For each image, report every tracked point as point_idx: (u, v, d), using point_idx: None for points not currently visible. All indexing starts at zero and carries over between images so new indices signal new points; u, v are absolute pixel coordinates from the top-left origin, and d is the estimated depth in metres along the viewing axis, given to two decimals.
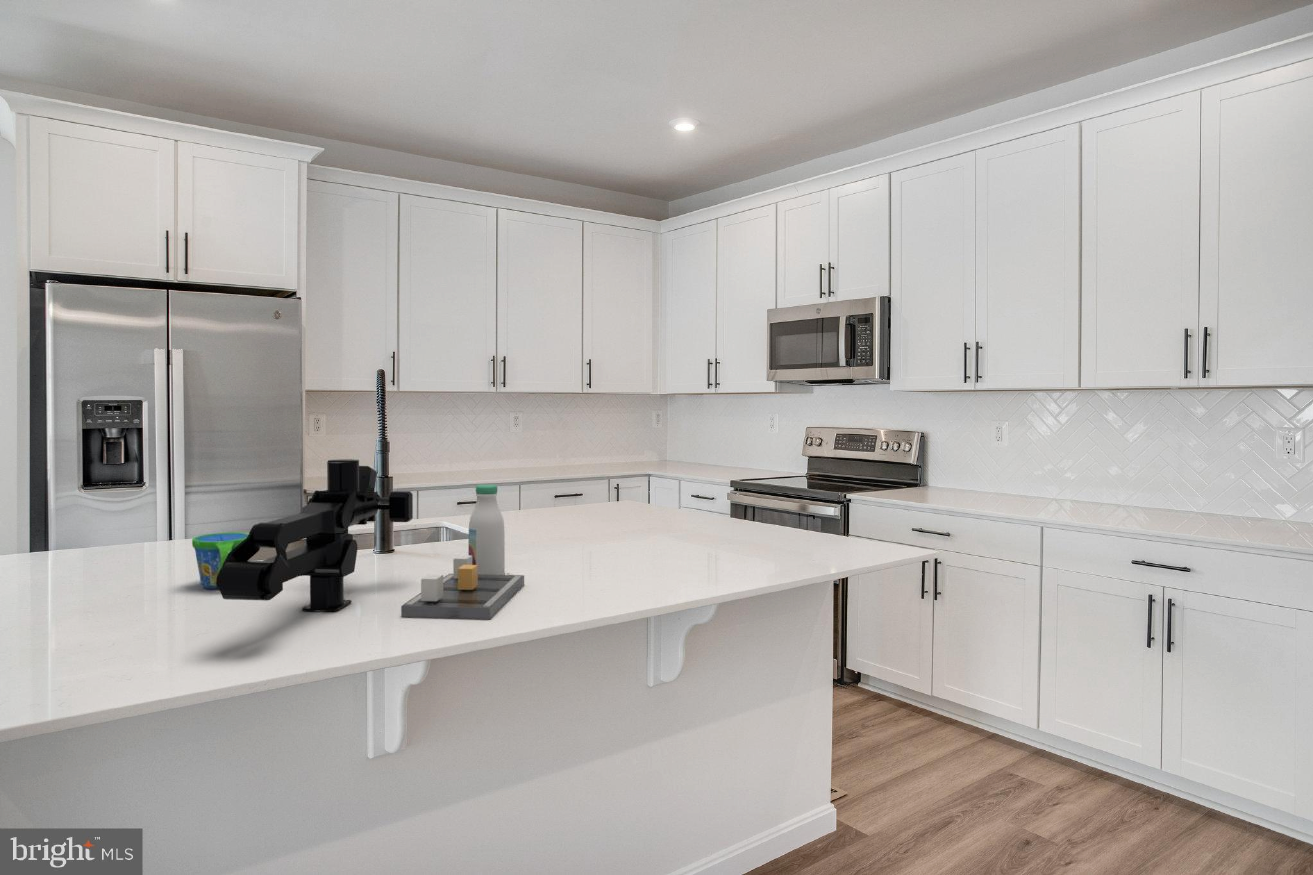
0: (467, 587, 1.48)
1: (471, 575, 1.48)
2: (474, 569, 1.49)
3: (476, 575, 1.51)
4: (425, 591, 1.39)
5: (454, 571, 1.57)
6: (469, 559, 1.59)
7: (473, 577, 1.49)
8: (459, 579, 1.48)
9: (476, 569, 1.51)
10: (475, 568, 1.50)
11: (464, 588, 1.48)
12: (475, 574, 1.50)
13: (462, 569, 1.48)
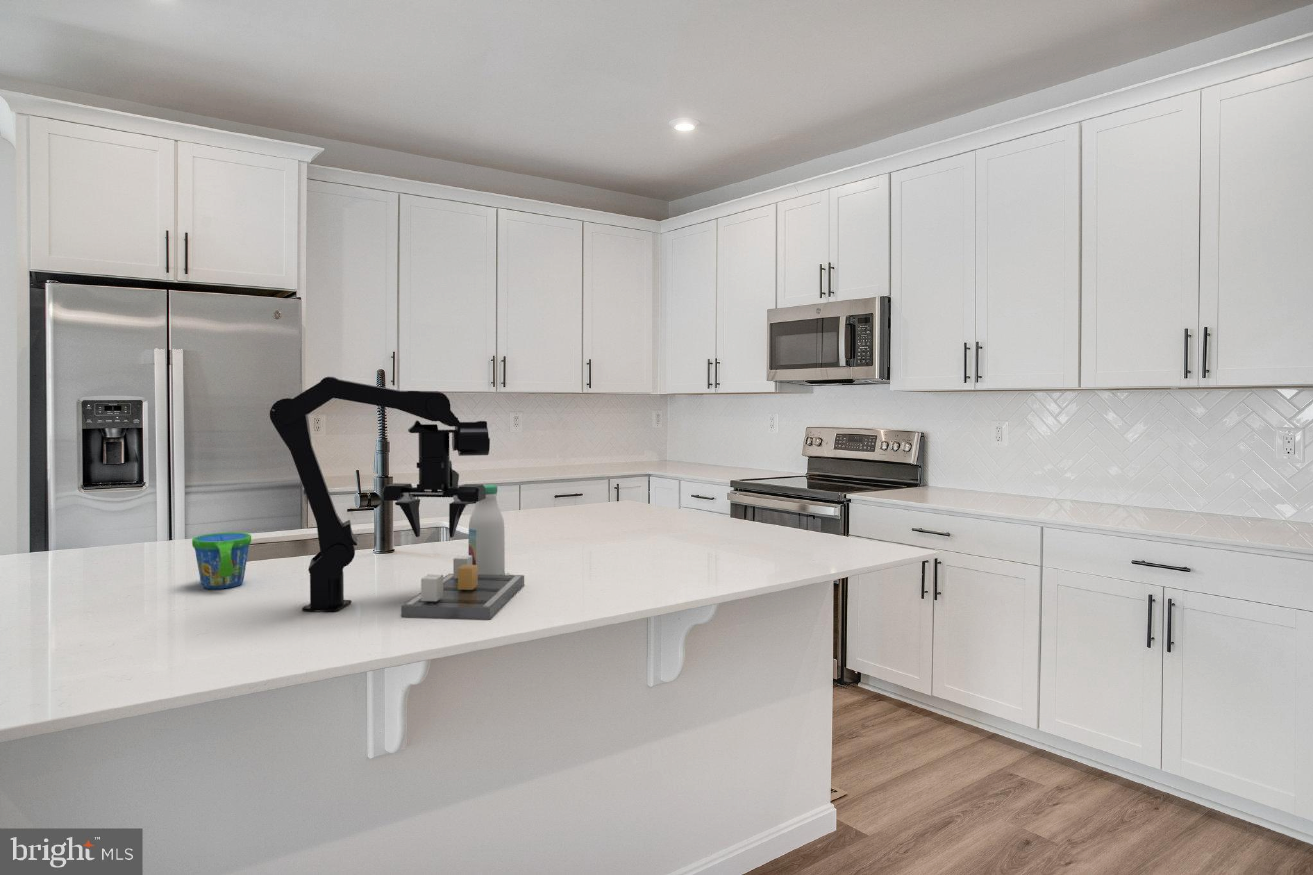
0: (467, 587, 1.48)
1: (471, 575, 1.48)
2: (474, 569, 1.49)
3: (476, 575, 1.51)
4: (425, 591, 1.39)
5: (454, 571, 1.57)
6: (469, 559, 1.59)
7: (473, 577, 1.49)
8: (459, 579, 1.48)
9: (476, 569, 1.51)
10: (475, 568, 1.50)
11: (464, 588, 1.48)
12: (475, 574, 1.50)
13: (462, 569, 1.48)
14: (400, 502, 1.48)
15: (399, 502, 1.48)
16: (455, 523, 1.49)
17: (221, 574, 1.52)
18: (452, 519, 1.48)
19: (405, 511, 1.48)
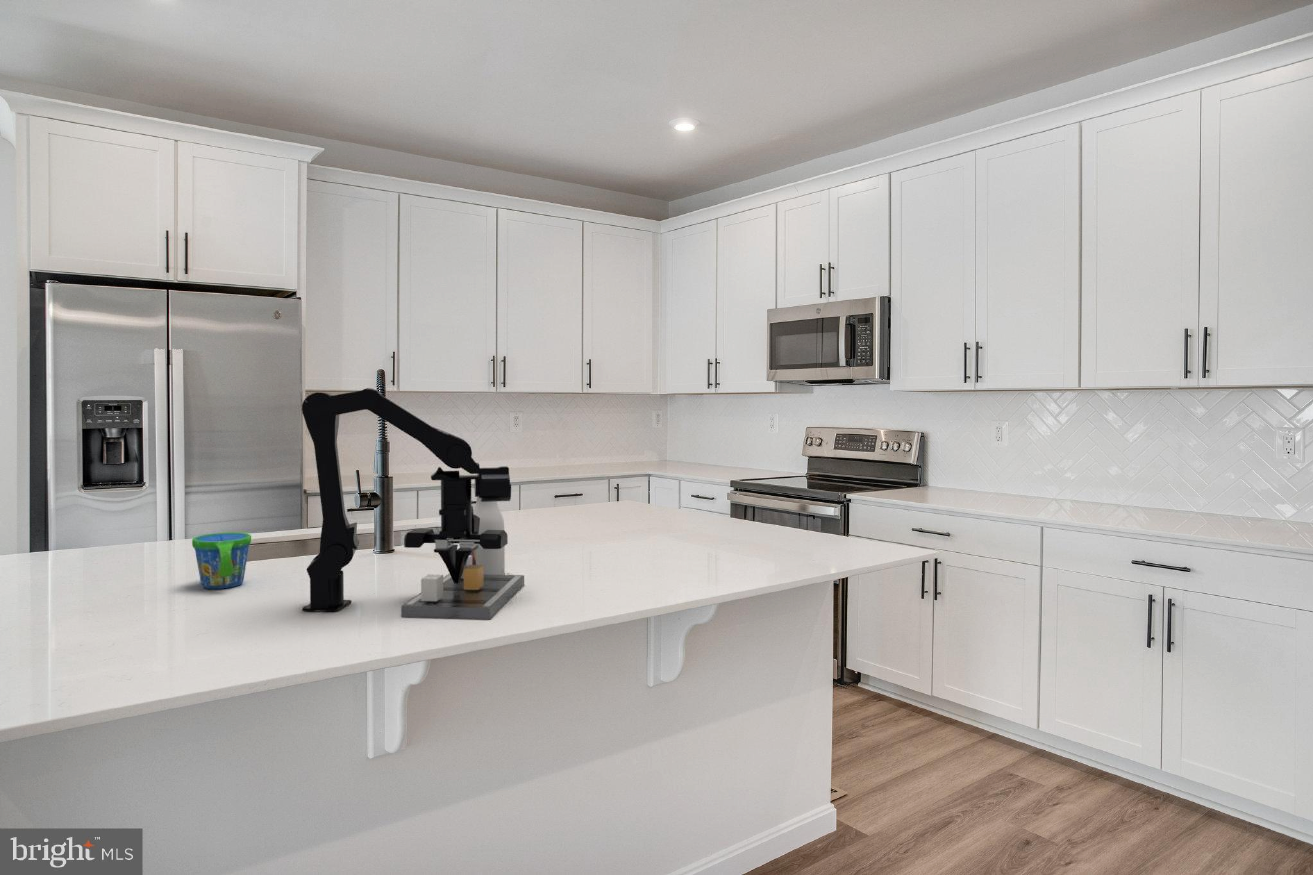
0: (473, 587, 1.48)
1: (477, 575, 1.48)
2: (480, 569, 1.49)
3: (482, 575, 1.51)
4: (425, 591, 1.39)
5: None
6: (469, 559, 1.59)
7: (479, 577, 1.49)
8: (465, 579, 1.48)
9: (482, 569, 1.51)
10: (481, 568, 1.50)
11: (470, 588, 1.48)
12: (481, 574, 1.50)
13: (468, 569, 1.48)
14: (439, 549, 1.47)
15: (438, 549, 1.48)
16: (461, 569, 1.49)
17: (221, 574, 1.52)
18: (458, 565, 1.48)
19: (444, 558, 1.48)
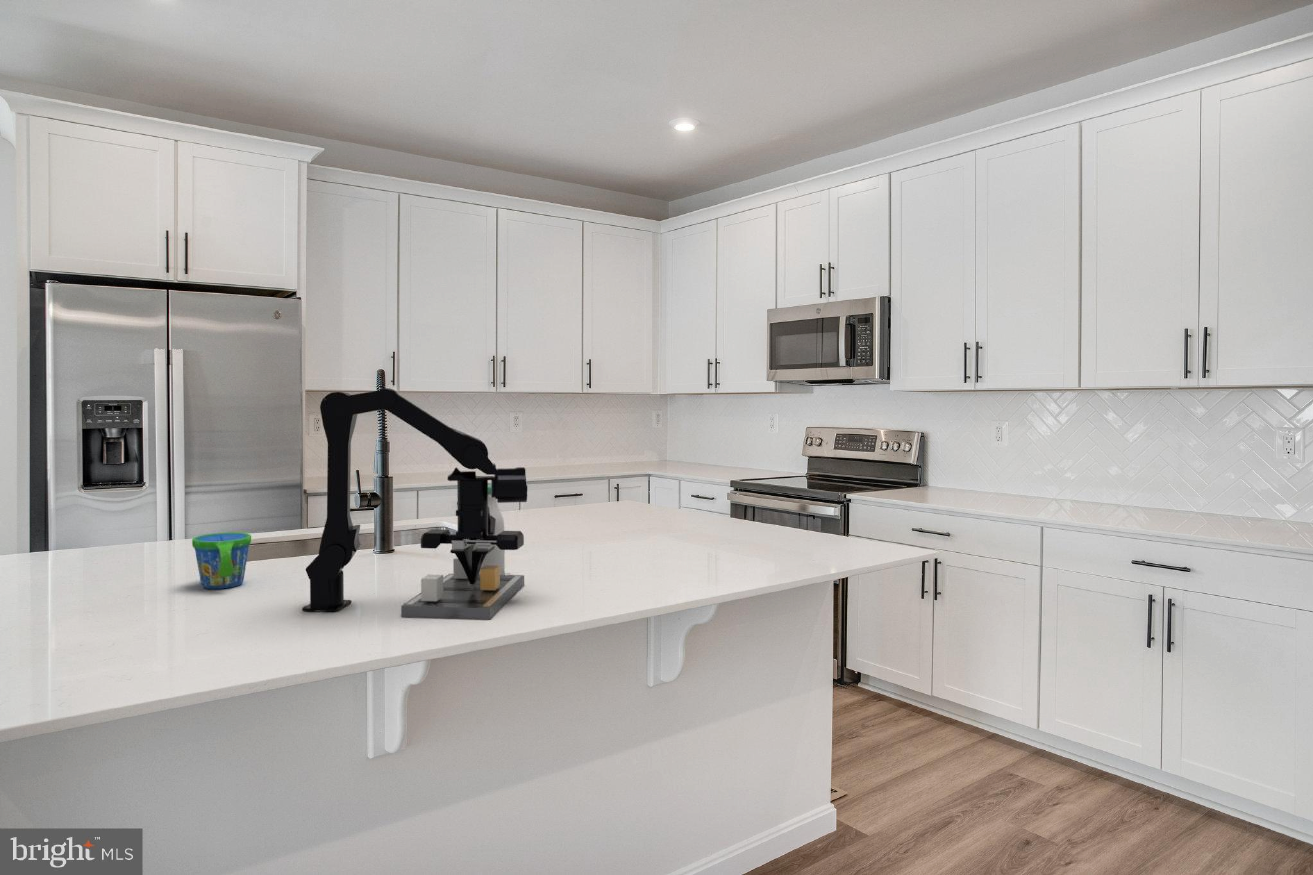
0: (490, 588, 1.48)
1: (494, 576, 1.48)
2: (496, 570, 1.49)
3: (498, 575, 1.51)
4: (425, 591, 1.39)
5: (454, 571, 1.57)
6: None
7: (496, 578, 1.49)
8: (482, 580, 1.48)
9: (498, 570, 1.50)
10: (497, 569, 1.50)
11: (487, 589, 1.48)
12: (498, 574, 1.50)
13: (485, 570, 1.48)
14: (455, 550, 1.47)
15: (454, 550, 1.47)
16: (477, 570, 1.49)
17: (221, 574, 1.52)
18: (474, 566, 1.48)
19: (460, 559, 1.47)
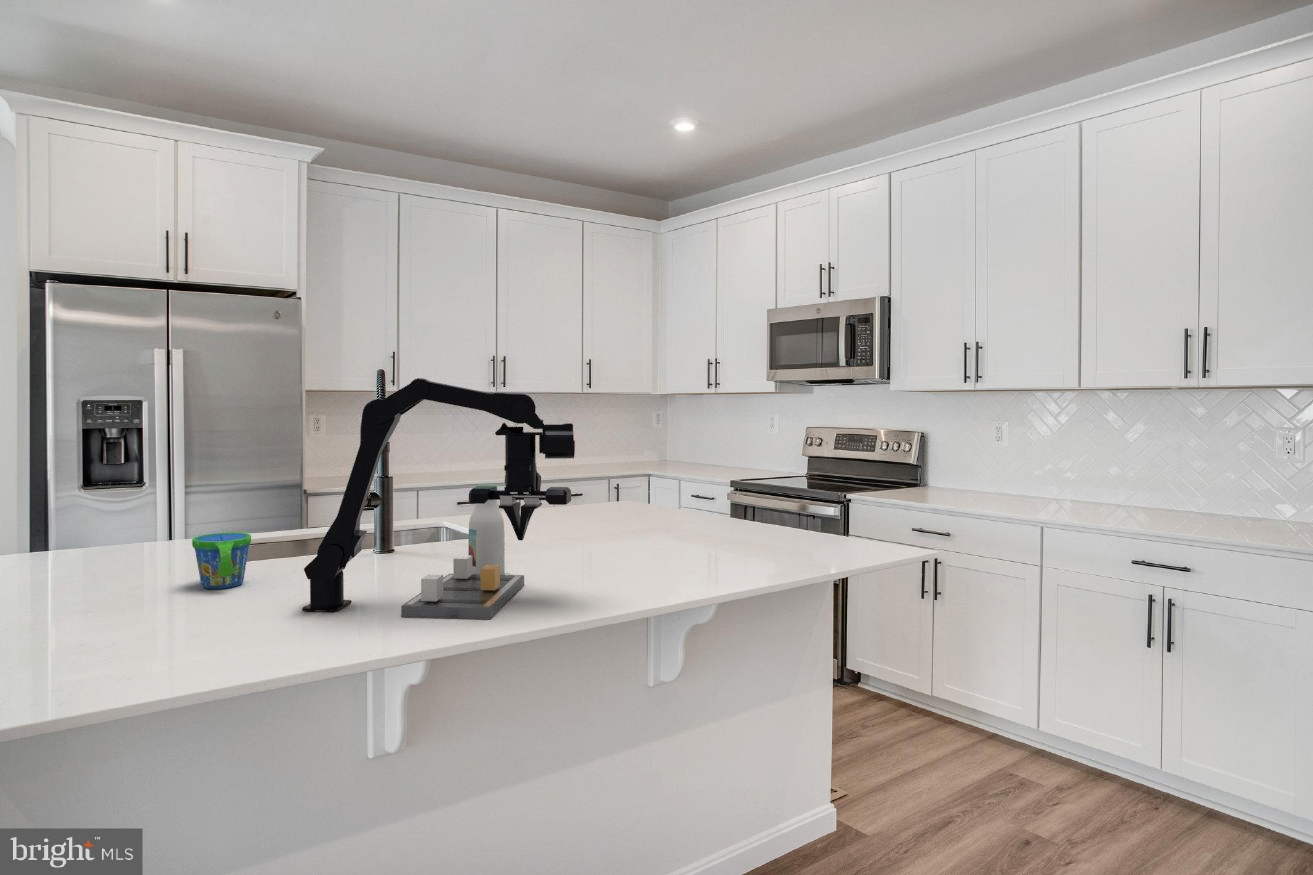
0: (490, 588, 1.48)
1: (494, 576, 1.48)
2: (496, 570, 1.49)
3: (498, 575, 1.51)
4: (425, 591, 1.39)
5: (454, 571, 1.57)
6: (469, 559, 1.59)
7: (496, 578, 1.49)
8: (482, 580, 1.48)
9: (498, 570, 1.50)
10: (497, 569, 1.50)
11: (487, 589, 1.48)
12: (498, 574, 1.50)
13: (485, 570, 1.48)
14: (504, 505, 1.46)
15: (503, 505, 1.46)
16: (526, 526, 1.48)
17: (221, 574, 1.52)
18: (523, 521, 1.47)
19: (509, 515, 1.46)
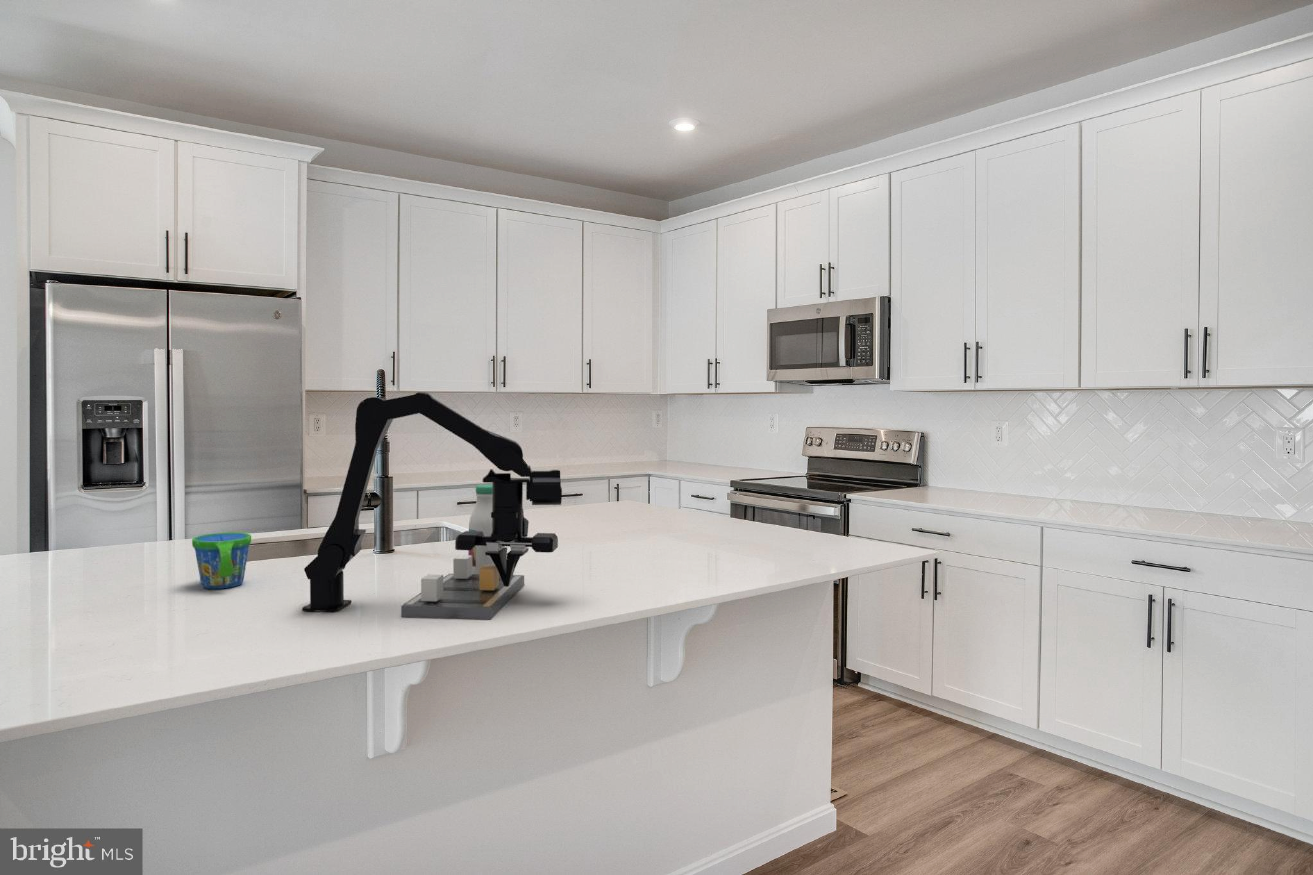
0: (488, 588, 1.48)
1: (493, 576, 1.48)
2: (495, 570, 1.49)
3: (497, 575, 1.51)
4: (425, 591, 1.39)
5: (454, 571, 1.57)
6: (469, 559, 1.59)
7: (495, 578, 1.49)
8: (480, 580, 1.48)
9: (497, 570, 1.50)
10: (496, 569, 1.50)
11: (485, 589, 1.48)
12: (497, 574, 1.50)
13: (483, 570, 1.48)
14: (490, 552, 1.47)
15: (489, 552, 1.47)
16: (512, 572, 1.48)
17: (221, 574, 1.52)
18: (509, 568, 1.47)
19: (495, 561, 1.47)
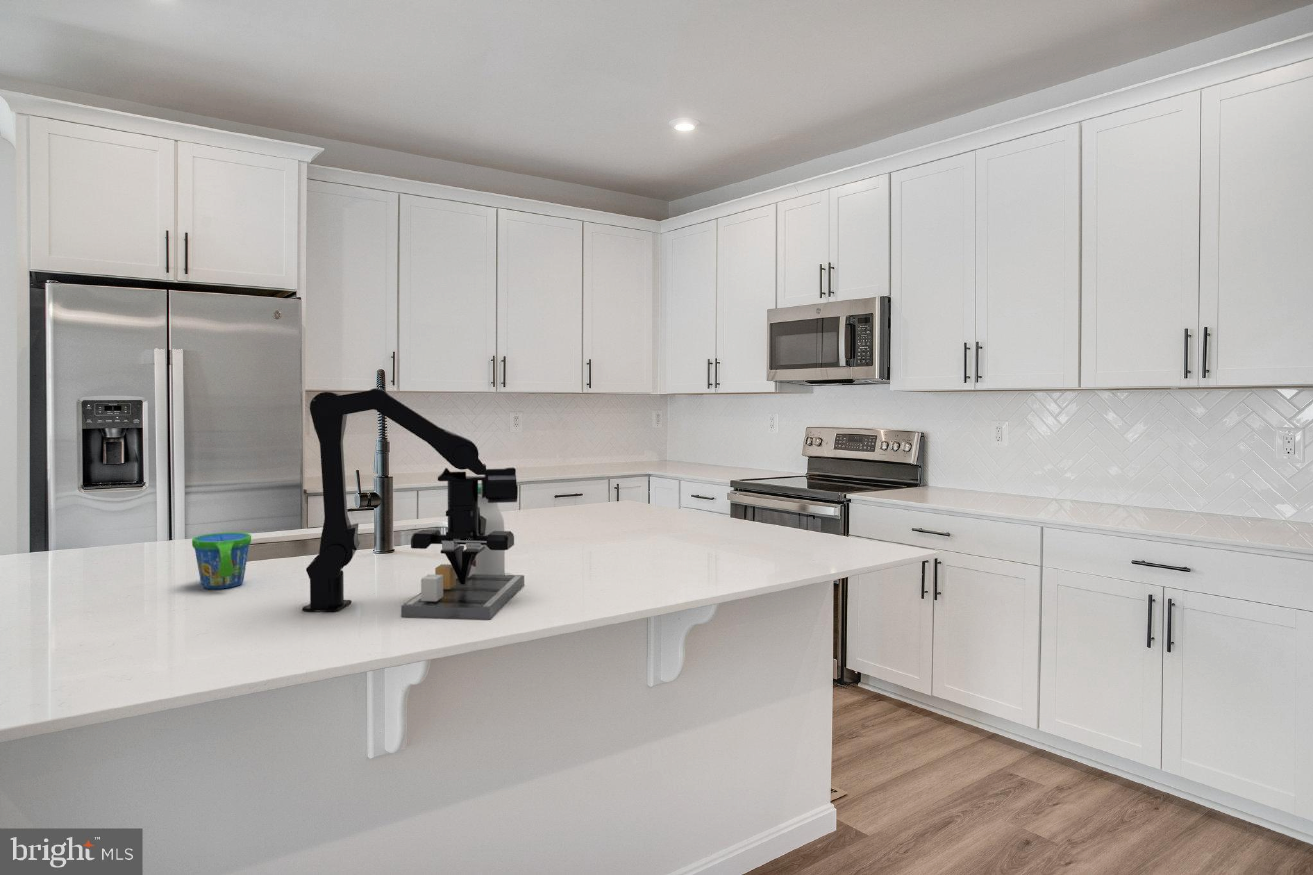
0: (445, 586, 1.48)
1: (449, 574, 1.48)
2: (452, 568, 1.50)
3: (454, 574, 1.51)
4: (425, 591, 1.39)
5: None
6: None
7: (451, 576, 1.49)
8: None
9: None
10: None
11: None
12: (453, 573, 1.51)
13: (440, 568, 1.48)
14: (445, 550, 1.47)
15: (444, 550, 1.47)
16: (468, 570, 1.49)
17: (221, 574, 1.52)
18: (464, 566, 1.48)
19: (451, 559, 1.48)
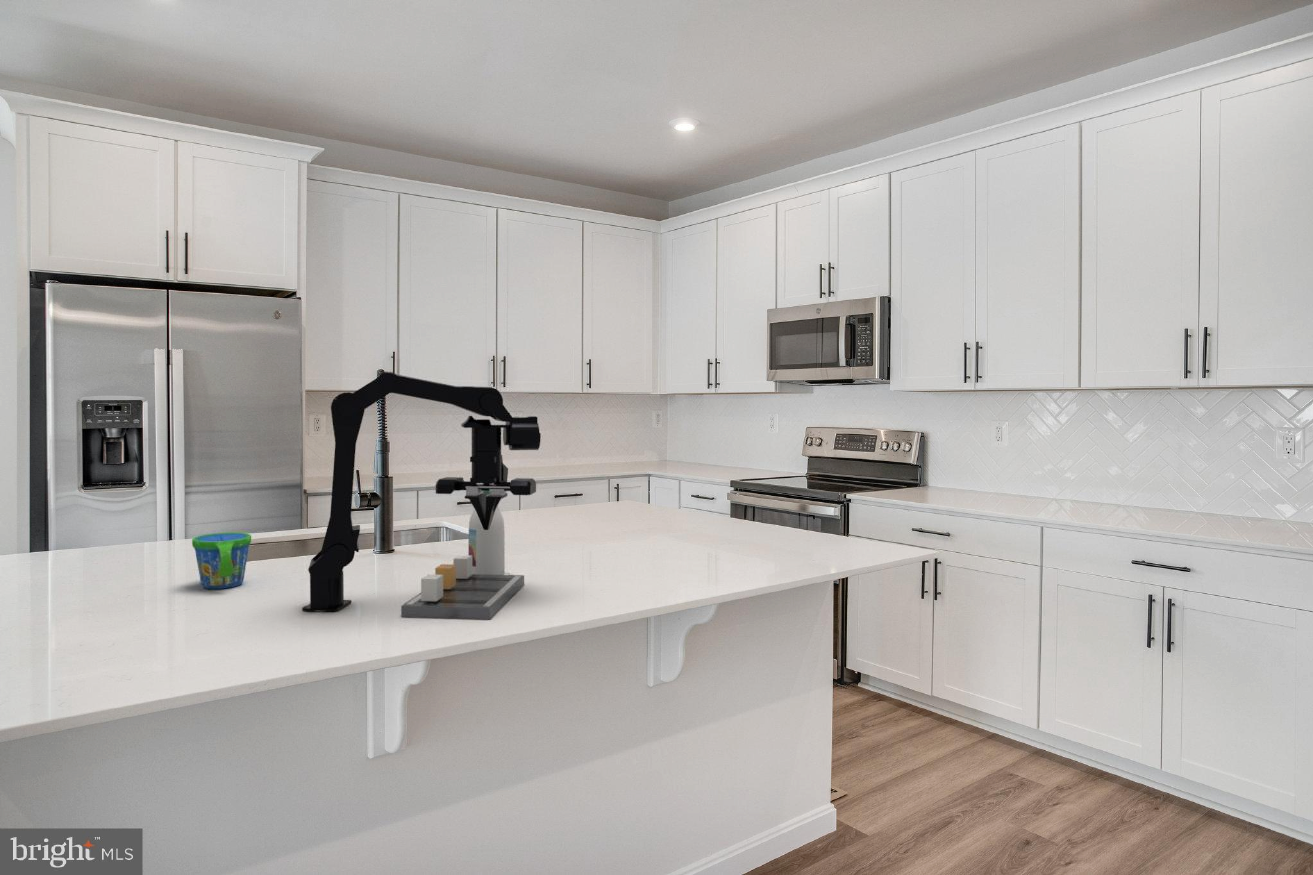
0: (445, 586, 1.48)
1: (449, 574, 1.48)
2: (452, 568, 1.50)
3: (454, 574, 1.51)
4: (425, 591, 1.39)
5: None
6: (469, 559, 1.59)
7: (451, 576, 1.49)
8: None
9: (454, 568, 1.51)
10: (453, 567, 1.50)
11: None
12: (453, 573, 1.51)
13: (440, 568, 1.48)
14: (469, 495, 1.51)
15: (468, 495, 1.51)
16: (491, 516, 1.52)
17: (221, 574, 1.52)
18: (488, 511, 1.51)
19: (474, 505, 1.51)
